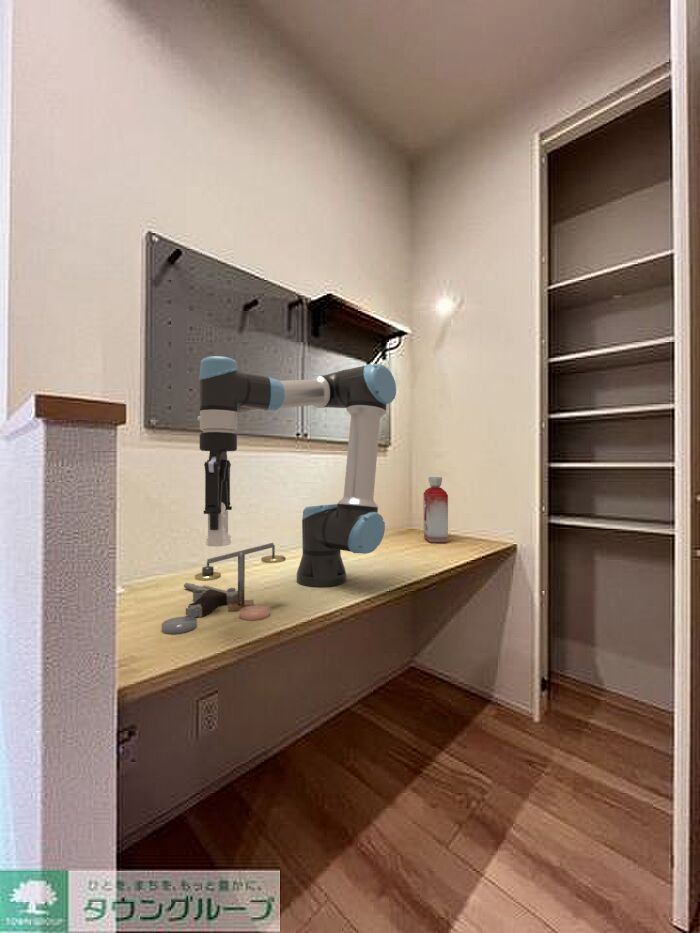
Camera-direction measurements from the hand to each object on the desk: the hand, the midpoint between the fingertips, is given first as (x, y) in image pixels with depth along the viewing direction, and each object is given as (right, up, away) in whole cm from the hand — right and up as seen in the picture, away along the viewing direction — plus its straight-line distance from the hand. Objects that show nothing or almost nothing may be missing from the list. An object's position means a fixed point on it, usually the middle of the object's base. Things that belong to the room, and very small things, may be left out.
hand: (218, 542), depth 90 cm
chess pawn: (0, -1, 0) cm, 1 cm away
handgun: (-12, -19, +20) cm, 31 cm away
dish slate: (-9, -19, +2) cm, 21 cm away
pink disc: (+5, -19, +10) cm, 22 cm away
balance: (+1, -19, +15) cm, 24 cm away
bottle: (+68, -19, +111) cm, 131 cm away
